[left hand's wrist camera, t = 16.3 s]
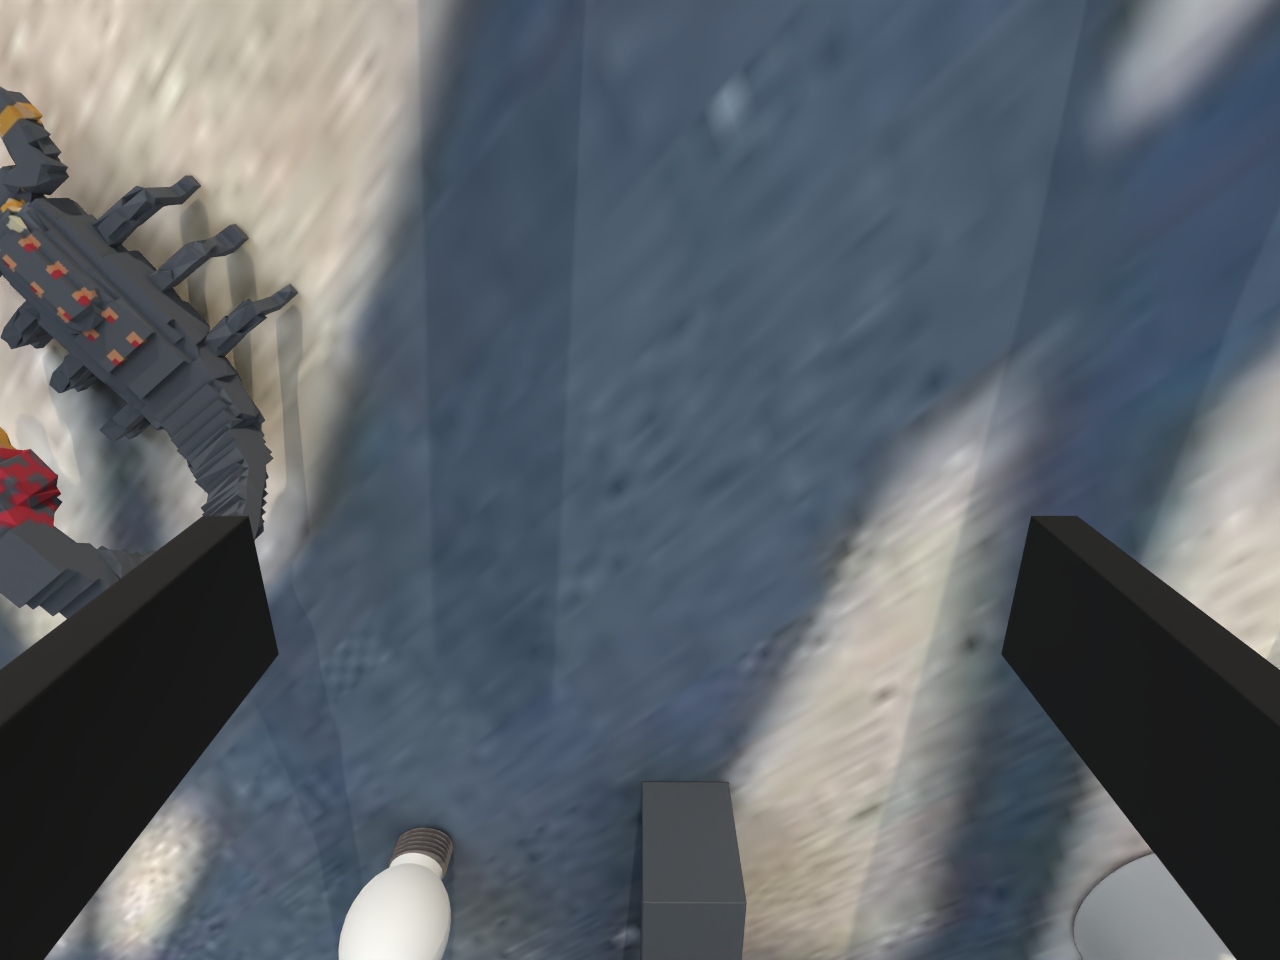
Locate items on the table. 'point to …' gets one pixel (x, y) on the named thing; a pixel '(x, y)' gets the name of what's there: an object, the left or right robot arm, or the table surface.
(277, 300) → the toy
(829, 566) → the table surface
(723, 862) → the box
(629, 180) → the table surface
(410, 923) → the light bulb
